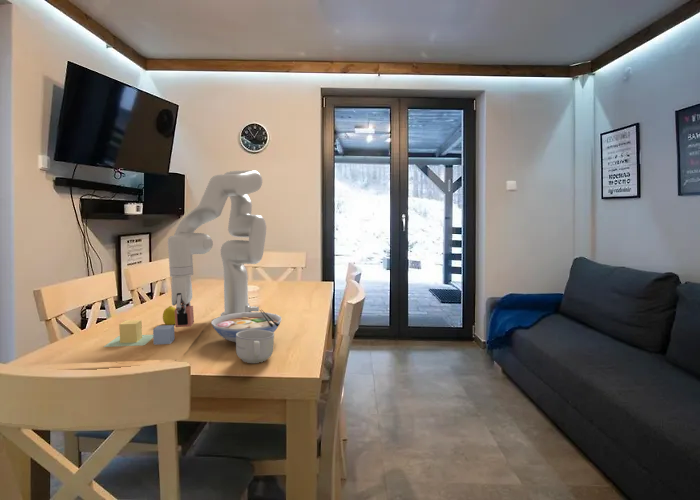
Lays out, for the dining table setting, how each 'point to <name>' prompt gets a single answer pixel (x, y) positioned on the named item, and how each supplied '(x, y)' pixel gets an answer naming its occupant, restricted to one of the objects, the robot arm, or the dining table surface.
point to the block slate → (163, 334)
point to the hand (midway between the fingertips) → (184, 321)
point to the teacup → (254, 345)
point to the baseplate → (142, 341)
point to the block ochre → (130, 331)
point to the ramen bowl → (245, 323)
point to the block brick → (189, 315)
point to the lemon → (169, 316)
